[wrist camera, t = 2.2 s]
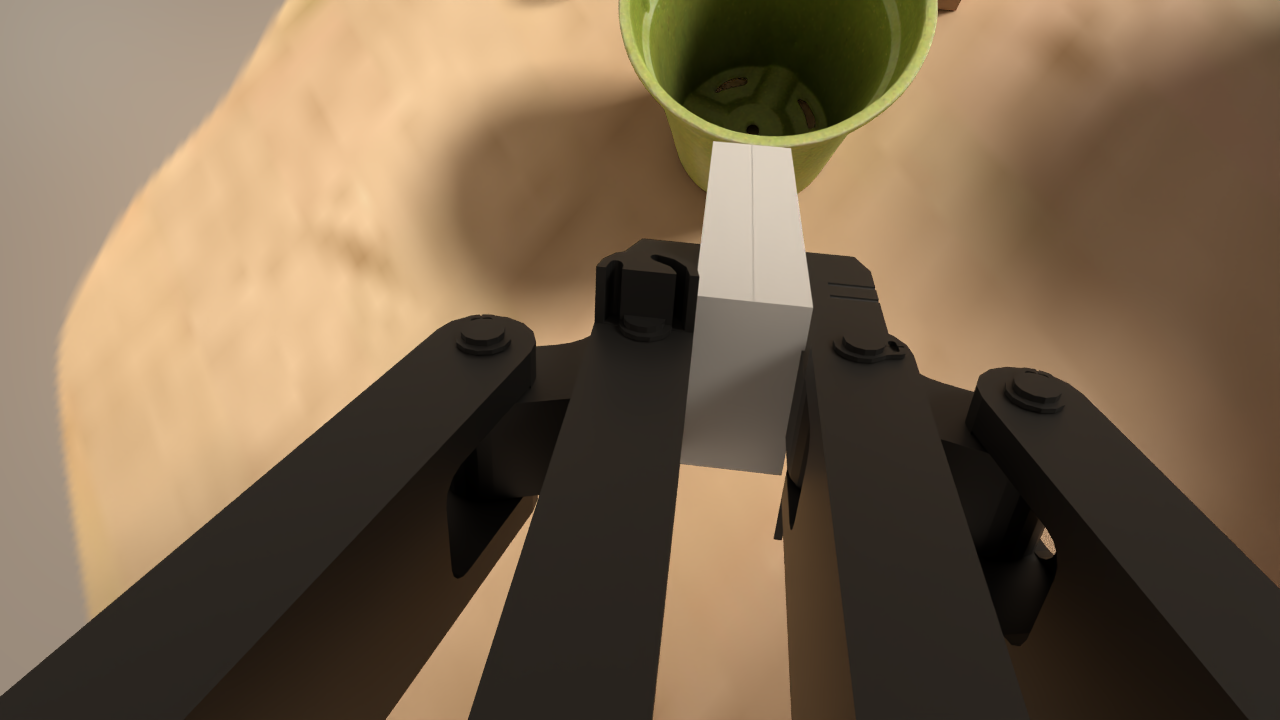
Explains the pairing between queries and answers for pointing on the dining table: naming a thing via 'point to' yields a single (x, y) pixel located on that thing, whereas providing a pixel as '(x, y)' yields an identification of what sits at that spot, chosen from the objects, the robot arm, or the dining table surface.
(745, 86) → the plant pot
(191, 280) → the dining table surface
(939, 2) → the walnut bay
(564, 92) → the dining table surface
